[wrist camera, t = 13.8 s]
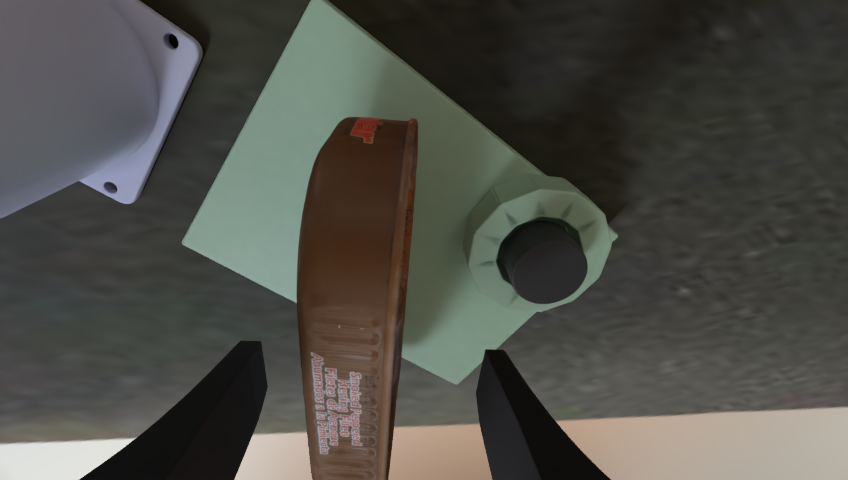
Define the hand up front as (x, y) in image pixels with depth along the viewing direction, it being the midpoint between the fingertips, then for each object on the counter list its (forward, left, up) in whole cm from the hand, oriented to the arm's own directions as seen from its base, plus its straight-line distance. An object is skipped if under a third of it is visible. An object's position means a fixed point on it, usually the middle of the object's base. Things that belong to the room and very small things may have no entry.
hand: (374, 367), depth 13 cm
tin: (0, 0, -7) cm, 7 cm away
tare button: (+5, +5, -5) cm, 8 cm away
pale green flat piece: (0, +2, -8) cm, 8 cm away
